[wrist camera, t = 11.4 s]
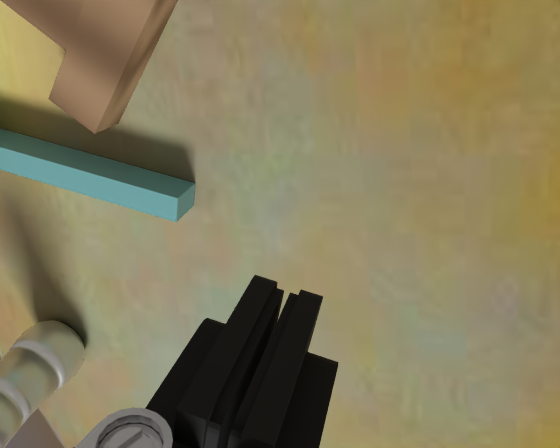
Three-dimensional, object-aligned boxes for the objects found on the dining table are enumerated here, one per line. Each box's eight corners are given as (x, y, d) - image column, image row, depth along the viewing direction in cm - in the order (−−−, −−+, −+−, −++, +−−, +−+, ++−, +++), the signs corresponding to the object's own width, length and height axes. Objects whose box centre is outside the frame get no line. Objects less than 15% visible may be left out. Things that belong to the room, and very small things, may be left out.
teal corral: (-66, -144, 30) (-112, -156, 28) (218, -92, 27) (197, -100, 25) (-20, 144, 40) (-50, 154, 37) (193, 205, 37) (176, 222, 34)
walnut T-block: (32, -148, 29) (-7, -161, 26) (188, -23, 29) (166, -23, 27) (-12, 23, 35) (-47, 26, 32) (118, 123, 35) (94, 134, 33)
